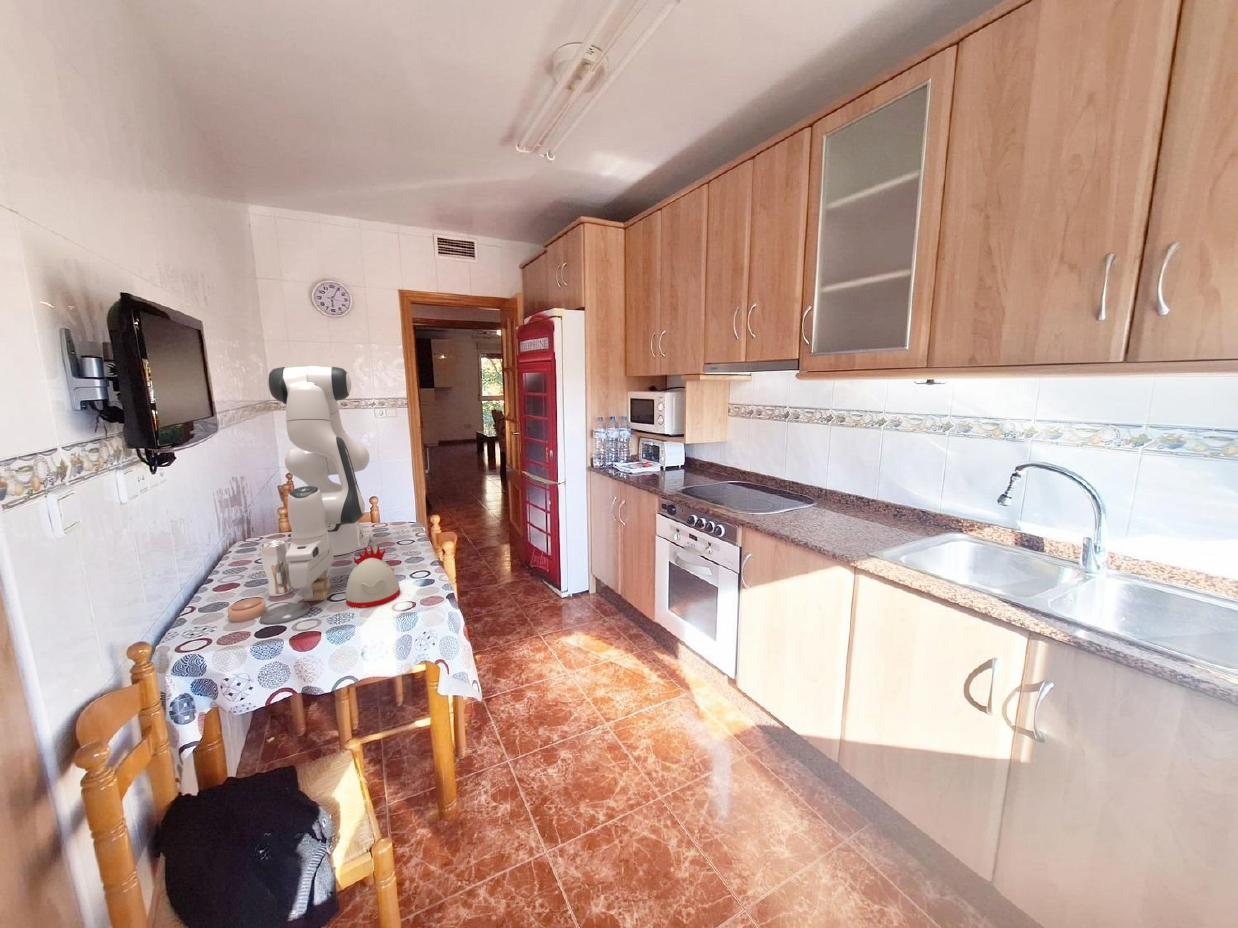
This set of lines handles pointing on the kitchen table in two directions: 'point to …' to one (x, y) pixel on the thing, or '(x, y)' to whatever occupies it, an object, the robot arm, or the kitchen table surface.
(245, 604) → the ramekin
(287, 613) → the coaster
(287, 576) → the beer glass
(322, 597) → the oak block
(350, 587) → the kitchen timer
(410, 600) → the kitchen table surface
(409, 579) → the kitchen table surface
